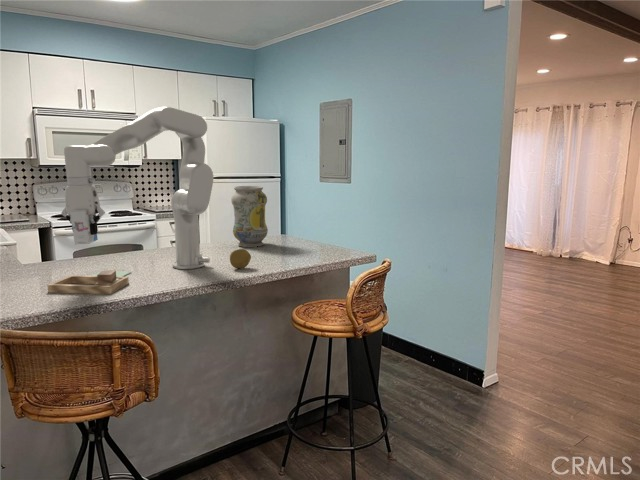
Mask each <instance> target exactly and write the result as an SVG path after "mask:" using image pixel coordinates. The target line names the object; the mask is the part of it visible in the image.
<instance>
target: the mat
mask: <svg viewBox="0 0 640 480" xmlns="http://www.w3.org/2000/svg"><path fill="white" fill-rule="evenodd" d="M101 271H102V270H101ZM101 271H99V272H98V271H97V272H96V273H93V274H92V275H90V276H97V275H98V274H99V273H100V272H101ZM131 273H132V271H124V270H123V271H121V270H116V277H127V276H128V275H129V274H131Z"/></svg>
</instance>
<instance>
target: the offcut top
mask: <svg viewBox="0 0 640 480" xmlns="http://www.w3.org/2000/svg"><path fill="white" fill-rule="evenodd" d="M116 271H117V270H115V269H112V270H101V272H100V271H99V272H100V273H99V274H98V275H97V280H98V284H104V283H113V282H114V281H115V280H116Z"/></svg>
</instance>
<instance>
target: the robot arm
mask: <svg viewBox="0 0 640 480" xmlns="http://www.w3.org/2000/svg"><path fill="white" fill-rule="evenodd" d="M167 131H170V132H174V133H175V134H176V136H177V137H178V138H179V140H180V141H181V143H182V146H183V150H182V151H183V152H182V153H183V154H182V160H181V165H180V169H179V174H178V175H179V181H180V182H181V184H183V185H185V186H187V187H188V188H181V189H178V190H176V191H175V192H174V193H173V195H172V197H171V210H172V214H173V220H174V239H175V262H172V265H171V266H172V268H174V269H175V270H176V269H177V270H179V269H180V270H194V269H199V268H201V267H204V266H205V264H206V263H207V264H208V263H211V259H210V257H209V256H208V257H207V256H205V257H204V256H203V254H202V253H201V249H200V248H201V247H200V222H199V217H198V215H199V216H200V215H202V214H203V213H205V212H206V210H207V209H208V208H209V206H210V205H209V204H210V201H211V195H212V191H213V184H214V173H213V172H214V171H213V170H212V168H211V167H210V165H208V164H207V163H205V159H206V158H205V157H206V146H205V145H206V144H205V142H204V140H203V138H202V137H203V136H205V135H206V133H207V131H208V123H207V121H206V120H205V119H204V118H203V117H202V116H201V115H198V114H195V113H192V112H189V111H185V110H182V109H179V108H176V107H175V108H174V107H171V106H161V107H157V108H154V109H151V110H149V111H147V112H146V113H144V114H143V115H141V116H140V117H137V118H136V119H135V120H132V121H131V122H129V123H127V124H126V125H124V126H121V127H120V128H118V129H116V130H115V131H113V132H110V133H109V134H107V135H105V136H102V137H101V138H99V139H98V140H96V141H95V142H92V143H91V144H89V145H74V144H73V145H66V146H65V147H63V153H64V154H63V155H64V163H65V164H64V165H65V171H66V172H65V173H66V180H67V181H66V182H67V186H66V187H65V207H64V208H63V209H62V211H61V215H62V216H63V217H65V219H66V220H68V221H69V223H70V225H72V220H71V213H70V211H73V210H87V214H88V216H89V219H90V221H91V224H90V232H91V235H94V234H97V235H98V231H99V228H98V222H99V221H100V220H101V219H102V217H104V215H105V214H106V211H105V210H104V209H103V208H102V207H101V204H100V198H99V194H98V190H97V188H96V186H95V185H94V183H96V179H95V178H93V176H92V168H91V167H102V168H103V167H105V168H106V167H109V166H111V165H112V164H113V163H114V162H115V161H116V155H118V154H120V153H123V152H125V151H129V150H131V149H136V148H138V147H140V146H142V145H144V144H146V143H147V142H149V141H150V140H152V139H153V138H155V137H156V136H158V135H160V134H162V133H163V132H167ZM71 230H72V232H73V227H72V226H71Z"/></svg>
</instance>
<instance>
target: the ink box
mask: <svg viewBox="0 0 640 480" xmlns="http://www.w3.org/2000/svg"><path fill="white" fill-rule="evenodd" d="M70 213H71V220H72V224H71V228H72V227H73V231H72V232H73V233H72V234H73V240H74V245H90V244H92V243H94V242H96V241H97V240H98V233H97V234H94V235H91V232H90V224H91V221H90V219H89V216H88V214H87V210H73V211H70Z"/></svg>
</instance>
